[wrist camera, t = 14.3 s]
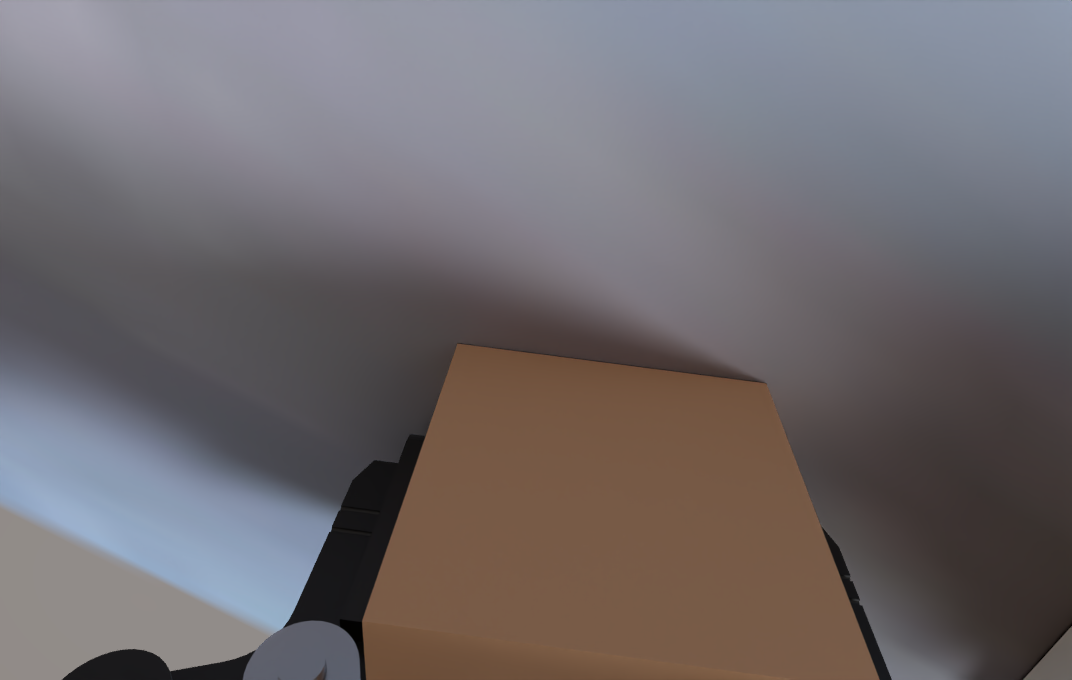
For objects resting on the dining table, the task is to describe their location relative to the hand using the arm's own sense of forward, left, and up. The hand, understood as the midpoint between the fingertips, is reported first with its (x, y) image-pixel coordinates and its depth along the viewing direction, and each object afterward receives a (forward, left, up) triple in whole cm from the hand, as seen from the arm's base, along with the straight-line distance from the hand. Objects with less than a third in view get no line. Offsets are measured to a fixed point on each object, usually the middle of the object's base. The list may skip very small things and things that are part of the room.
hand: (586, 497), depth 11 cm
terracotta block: (0, 0, 0) cm, 0 cm away
